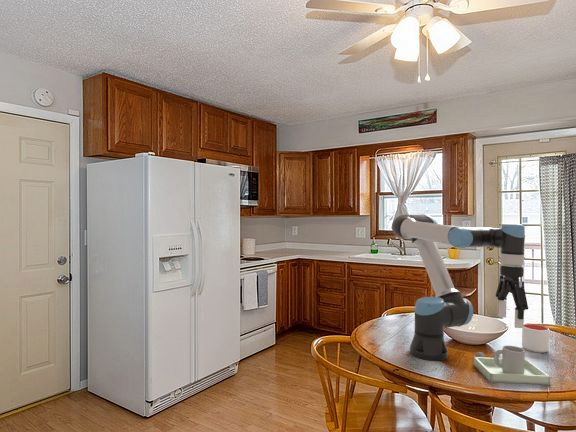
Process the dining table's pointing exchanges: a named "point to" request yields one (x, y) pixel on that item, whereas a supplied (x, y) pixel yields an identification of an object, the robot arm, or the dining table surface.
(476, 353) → the mixing ball
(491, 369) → the tray
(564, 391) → the dining table surface
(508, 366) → the cup
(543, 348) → the cup
